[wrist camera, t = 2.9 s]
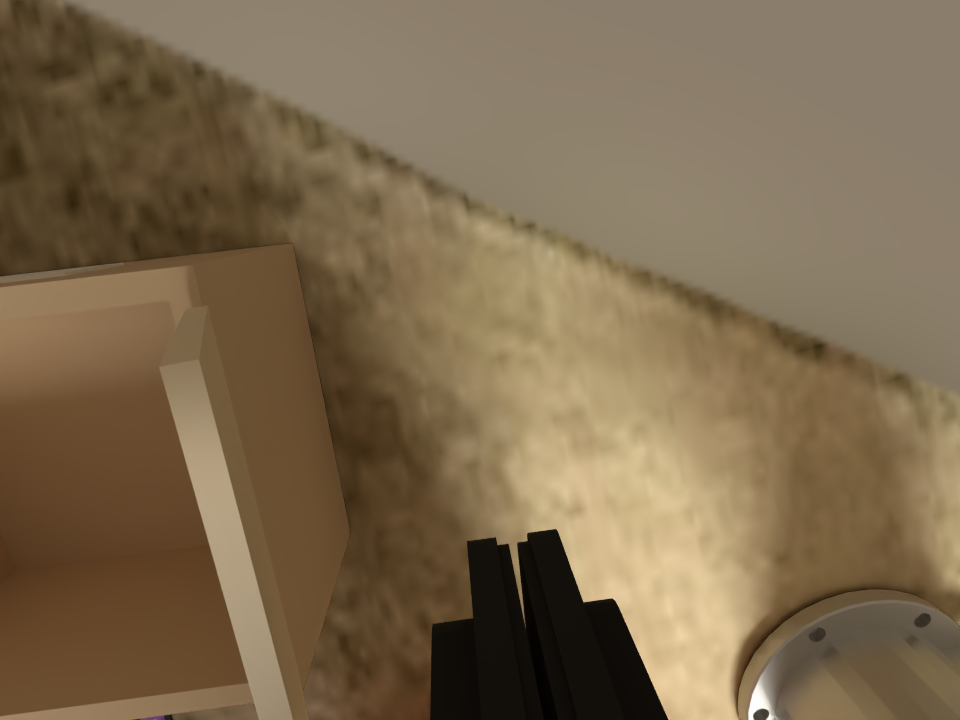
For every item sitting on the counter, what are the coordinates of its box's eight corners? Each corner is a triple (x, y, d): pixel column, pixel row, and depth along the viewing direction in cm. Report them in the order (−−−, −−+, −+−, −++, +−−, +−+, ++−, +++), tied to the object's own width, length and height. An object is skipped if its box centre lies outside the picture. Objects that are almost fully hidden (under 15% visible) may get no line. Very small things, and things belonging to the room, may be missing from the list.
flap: (185, 309, 13) (207, 305, 14) (283, 684, 16) (300, 677, 17) (159, 367, 7) (198, 359, 8) (318, 930, 11) (343, 915, 11)
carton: (292, 240, 22) (192, 261, 13) (350, 533, 26) (301, 696, 17) (-99, 285, 22) (-462, 335, 13) (17, 575, 25) (-204, 764, 17)
